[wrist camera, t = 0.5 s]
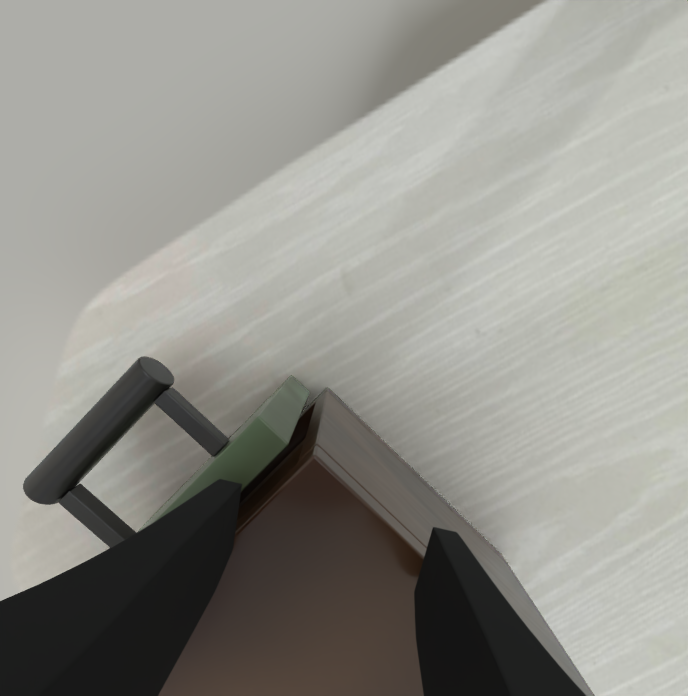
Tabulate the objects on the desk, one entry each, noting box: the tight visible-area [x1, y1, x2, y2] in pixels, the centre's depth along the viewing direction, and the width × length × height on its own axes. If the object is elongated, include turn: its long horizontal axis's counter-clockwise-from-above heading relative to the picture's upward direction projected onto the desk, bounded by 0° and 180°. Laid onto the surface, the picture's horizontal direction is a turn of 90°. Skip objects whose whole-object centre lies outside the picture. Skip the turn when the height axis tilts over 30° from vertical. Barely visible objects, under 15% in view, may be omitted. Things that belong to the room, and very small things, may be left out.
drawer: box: [23, 357, 309, 548], centre depth 14 cm, size 16×10×7 cm, turn 46°
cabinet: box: [158, 388, 595, 696], centre depth 15 cm, size 13×12×9 cm
